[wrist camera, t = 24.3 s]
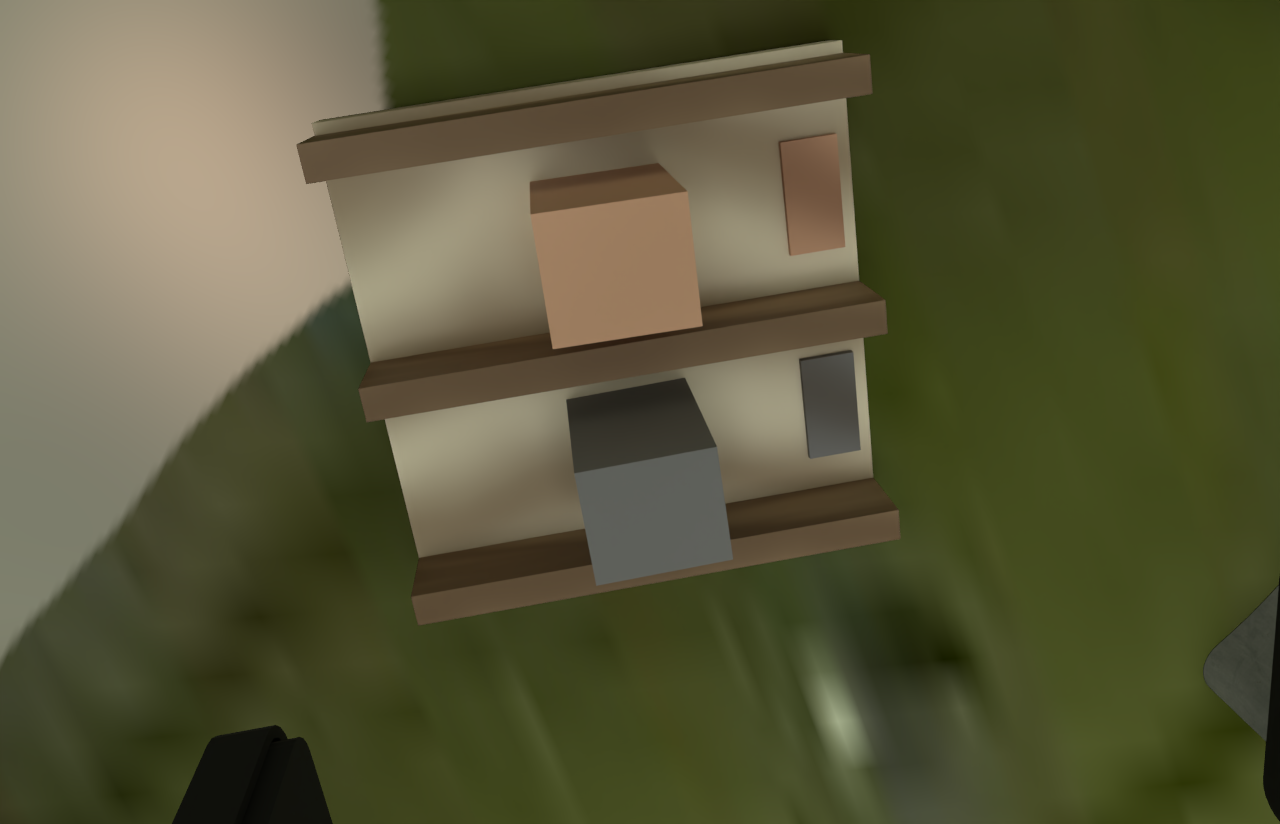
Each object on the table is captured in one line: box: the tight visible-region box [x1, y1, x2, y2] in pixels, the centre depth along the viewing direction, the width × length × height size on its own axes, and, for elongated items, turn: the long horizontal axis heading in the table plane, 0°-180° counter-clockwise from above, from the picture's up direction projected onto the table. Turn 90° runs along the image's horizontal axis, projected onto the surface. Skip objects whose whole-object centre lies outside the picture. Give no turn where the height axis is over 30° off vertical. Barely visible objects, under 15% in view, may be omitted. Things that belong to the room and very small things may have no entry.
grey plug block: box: [566, 378, 733, 586], centre depth 36 cm, size 4×4×7 cm
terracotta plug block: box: [530, 163, 703, 349], centre depth 34 cm, size 4×4×7 cm
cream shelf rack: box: [297, 40, 900, 625], centre depth 38 cm, size 18×18×4 cm
